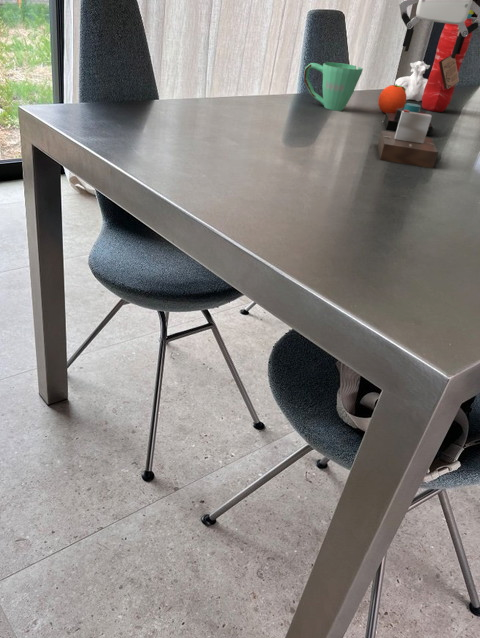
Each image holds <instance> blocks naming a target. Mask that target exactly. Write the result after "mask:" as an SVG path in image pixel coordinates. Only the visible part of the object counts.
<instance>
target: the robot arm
mask: <svg viewBox="0 0 480 638" xmlns="http://www.w3.org/2000/svg"><path fill="white" fill-rule="evenodd" d="M415 4H417V6H416V10H415V16H414V17H413V18H412V19H411V17H410V16H409V13H408V7H410V6H412V5H415ZM398 6H399V11H400V17H401V20H402V22H403V23H404V25H405V28H406V31H405V36H404V39H403V42H402V47H405V48H404V52H406V53H407V52H409V50H410V46H411V42H412V38H413V35H414V32H415V30H414V28H415V26H416V25H417V24H418V23H419V22H420V21H427V22H433V23H434V22H435V23H441V24H446V23H448V24H457V25H458V28H459V30H460V33H459V36H457V39H456V42H455V45H454V48H453V52H452V55H451V58H453V59H455V56H456V54H460V51H461V48H462V45H463V42H464V39H465V37H466V36H467V35H468V34H470V33H471V32H472V33H473V32H474V31H476V30H477V29H478V28H479V26H480V5H478V4H477V3H476V2H475V1H474V0H403V1H401V2H399V4H398ZM470 9H471V10H472V11H473V14H475V15H476V16H477V17H476V19H475V20H474V21H473V22H472V24H471V25H470V26H468V27H467V28H466V25H465V23H464V22H465V21H466V19H467V16H468V14H469V11H470Z"/></svg>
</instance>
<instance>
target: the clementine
mask: <svg viewBox="0 0 480 638" xmlns="http://www.w3.org/2000/svg"><path fill="white" fill-rule="evenodd" d="M406 103H407V100H406V93H405V88H404V87H402V86H398V85H397V84H396V85H395V84H390V85H388V86H386V87H385V88H384V89H383V90H381V92H380V94H379V96H378V100H377V104H378V107H379V109H380V111H381V112H382V113H384V114H385V115H386V113H394V114H396V111H397V109H399V108H404V107H405V104H406Z"/></svg>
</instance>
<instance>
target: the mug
mask: <svg viewBox="0 0 480 638" xmlns="http://www.w3.org/2000/svg"><path fill="white" fill-rule="evenodd" d="M311 69H313V70H317V72H319V73H321V74H322V88H321V89H322V96H321V95H320V94H318V93H317V92H315V90H314V87H313V85H312V83H311V80H310V79H309V78H310V77H309V76H310V71H311ZM363 70H364V69H363V67H361V66H358V68H357V66H356V65H353V64H348V63H343V62H342V63H340V62H331V61H329V62H324V63H323V65H321V64H319V63H317V62H310V63H309V64H308V65H306V66H305V67H304V74H303V75H304V77H303V83H304V84H305V86H306V88H307V90H308V92H309V94H310V96H311V97H312V98H314V99H315V100H316V101H318V102H319V103H320V104H322V106H323V108H325V109H327V110H330V111H337V112H339V111H340V112H342V111H344V109H345V107H346V106H347V105H348V103H349V101H350V99H351V97H352V96H353V93H354V92H355V89H356V87H357V84H358V82H359V80H360V77H361V75H362V73H363Z"/></svg>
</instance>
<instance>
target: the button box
mask: <svg viewBox="0 0 480 638" xmlns="http://www.w3.org/2000/svg"><path fill="white" fill-rule="evenodd" d="M403 110H404V107H403V108H399V109H397V111H396V113H395V114H394V113H386V114H385V117H384V121H383V122H384V127H385V131H389V132H396V130H397V127H398V123H399V120H400V116H401V113H402V111H403ZM419 113H422V114H426V112H424V111H421V110H420V111H419ZM433 127H434V126H433V125H432V123H431V122H430V124H429V127H428V131H427V134H426V137H428V138H431V134H432V131H433V129H434V128H433Z"/></svg>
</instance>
